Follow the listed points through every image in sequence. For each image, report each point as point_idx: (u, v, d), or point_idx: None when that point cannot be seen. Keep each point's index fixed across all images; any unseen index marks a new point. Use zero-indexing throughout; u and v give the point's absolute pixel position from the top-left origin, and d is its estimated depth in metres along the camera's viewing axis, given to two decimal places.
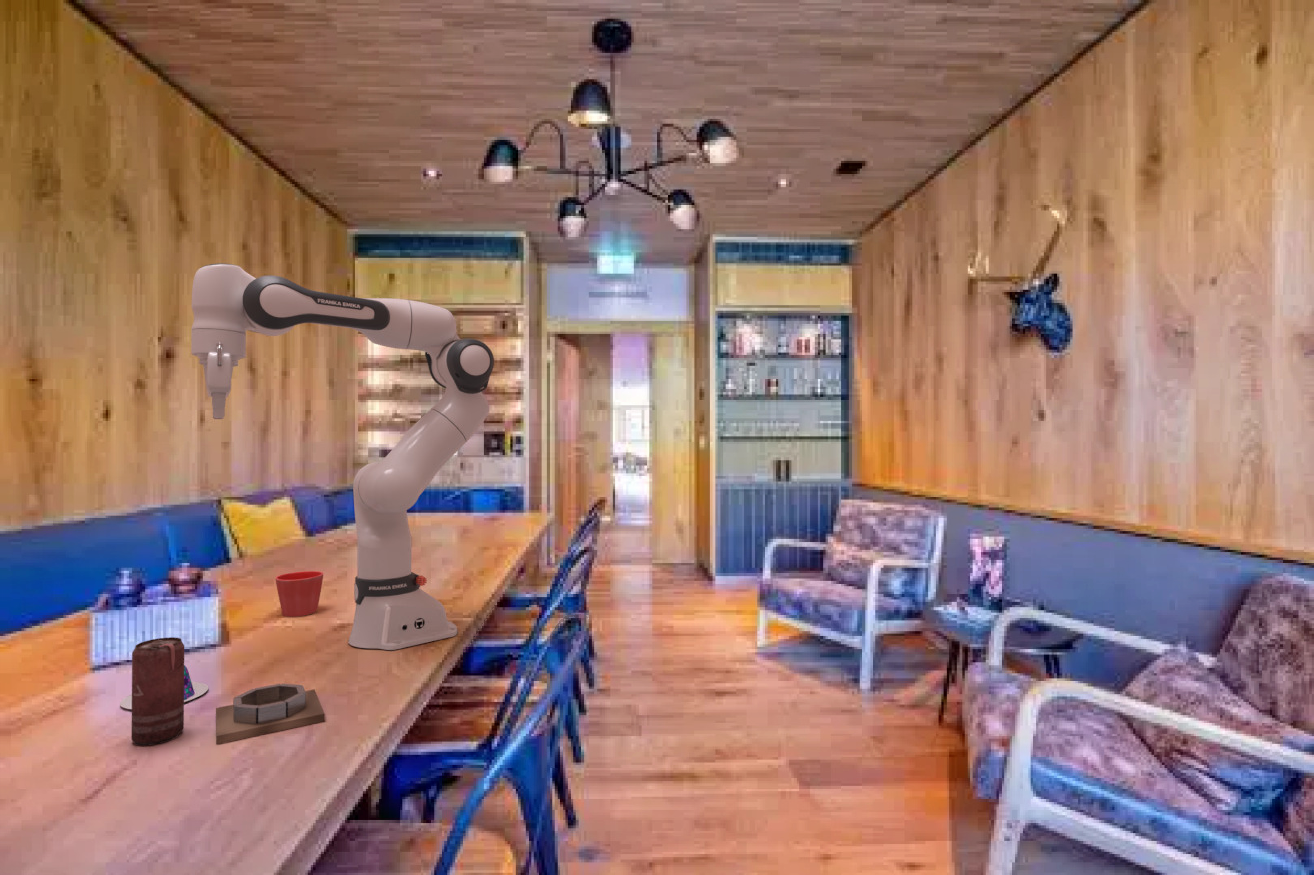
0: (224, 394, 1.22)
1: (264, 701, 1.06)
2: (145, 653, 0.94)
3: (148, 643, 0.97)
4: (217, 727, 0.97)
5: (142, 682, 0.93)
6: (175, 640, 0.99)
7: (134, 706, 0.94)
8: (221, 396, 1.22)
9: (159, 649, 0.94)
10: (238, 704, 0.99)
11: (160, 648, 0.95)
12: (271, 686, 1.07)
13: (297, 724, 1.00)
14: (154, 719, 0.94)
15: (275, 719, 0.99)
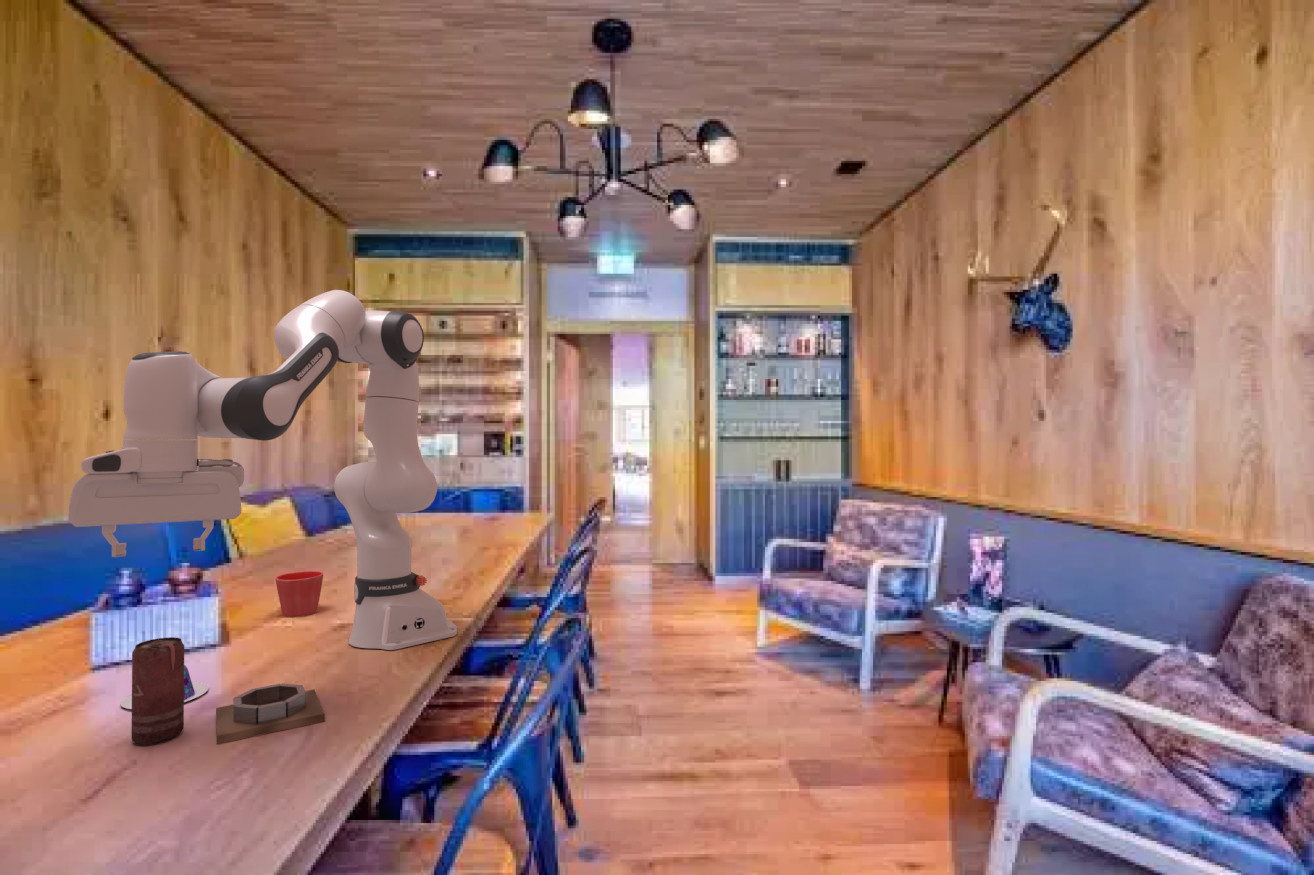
0: None
1: (264, 701, 1.06)
2: (145, 653, 0.94)
3: (148, 643, 0.97)
4: (217, 727, 0.97)
5: (142, 682, 0.93)
6: (175, 640, 0.99)
7: (134, 706, 0.94)
8: None
9: (159, 649, 0.94)
10: (238, 704, 0.99)
11: (160, 648, 0.95)
12: (271, 686, 1.07)
13: (297, 724, 1.00)
14: (154, 719, 0.94)
15: (275, 719, 0.99)
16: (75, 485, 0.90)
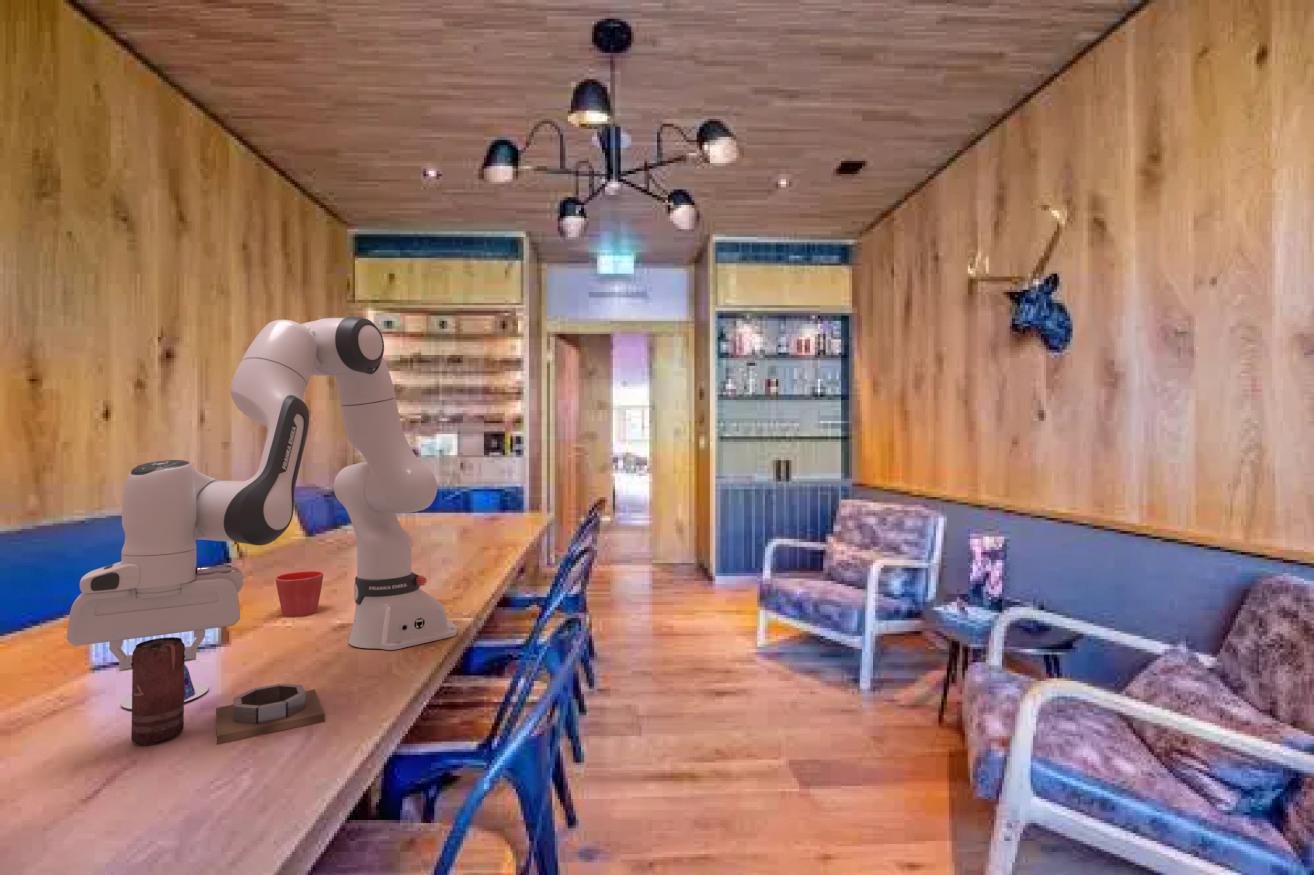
0: None
1: (264, 701, 1.06)
2: (145, 653, 0.94)
3: (148, 643, 0.97)
4: (217, 727, 0.97)
5: (143, 682, 0.94)
6: (175, 640, 0.99)
7: (134, 706, 0.94)
8: None
9: (159, 649, 0.94)
10: (238, 704, 0.99)
11: (160, 648, 0.95)
12: (271, 686, 1.07)
13: (297, 724, 1.00)
14: (155, 719, 0.94)
15: (275, 719, 0.99)
16: (73, 605, 0.89)
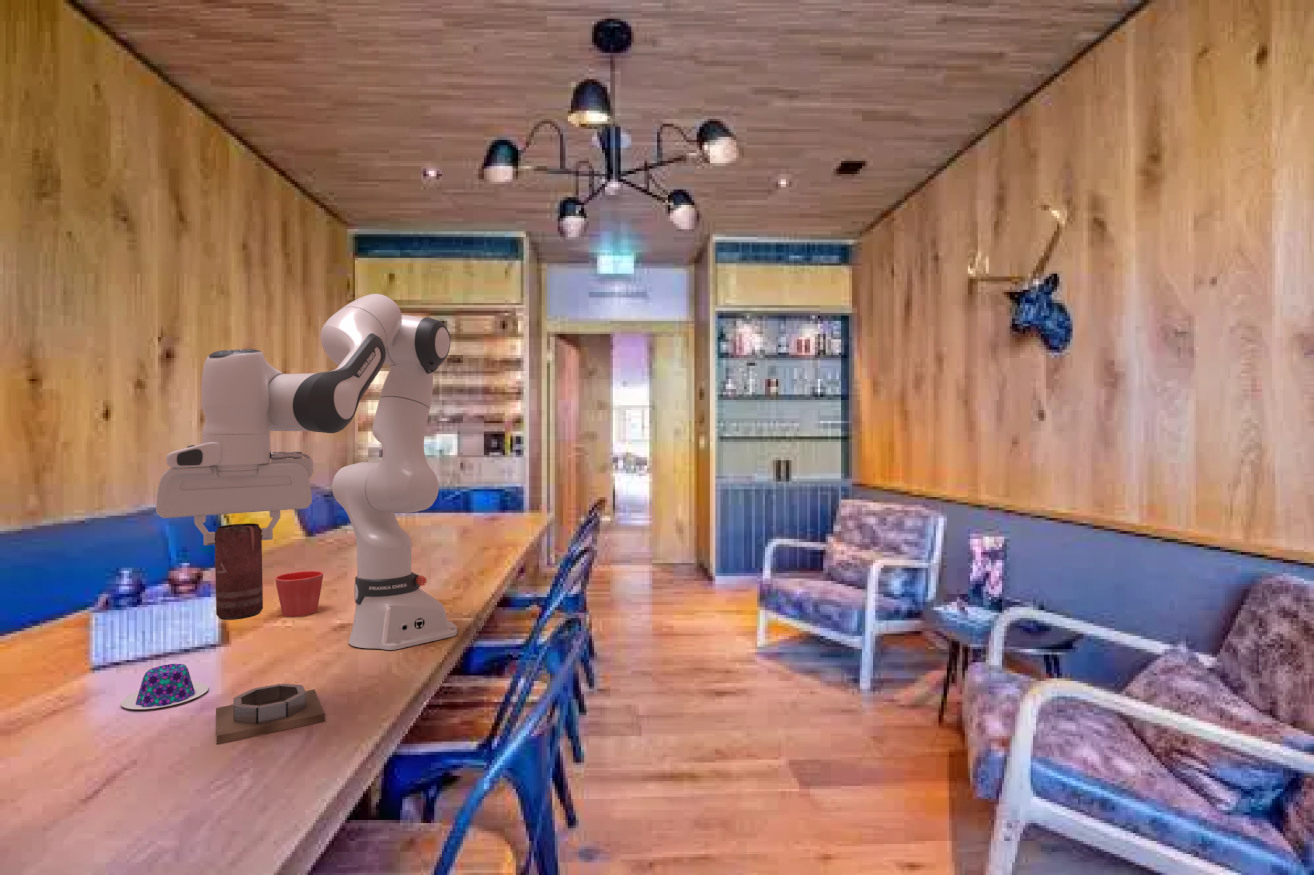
0: None
1: (264, 701, 1.06)
2: (227, 533, 0.99)
3: (228, 527, 1.02)
4: (217, 727, 0.97)
5: (226, 560, 0.99)
6: (252, 525, 1.04)
7: (218, 583, 0.99)
8: None
9: (240, 529, 0.99)
10: (238, 704, 0.99)
11: (241, 529, 1.00)
12: (271, 686, 1.07)
13: (297, 724, 1.00)
14: (238, 595, 0.99)
15: (275, 719, 0.99)
16: (162, 478, 0.94)
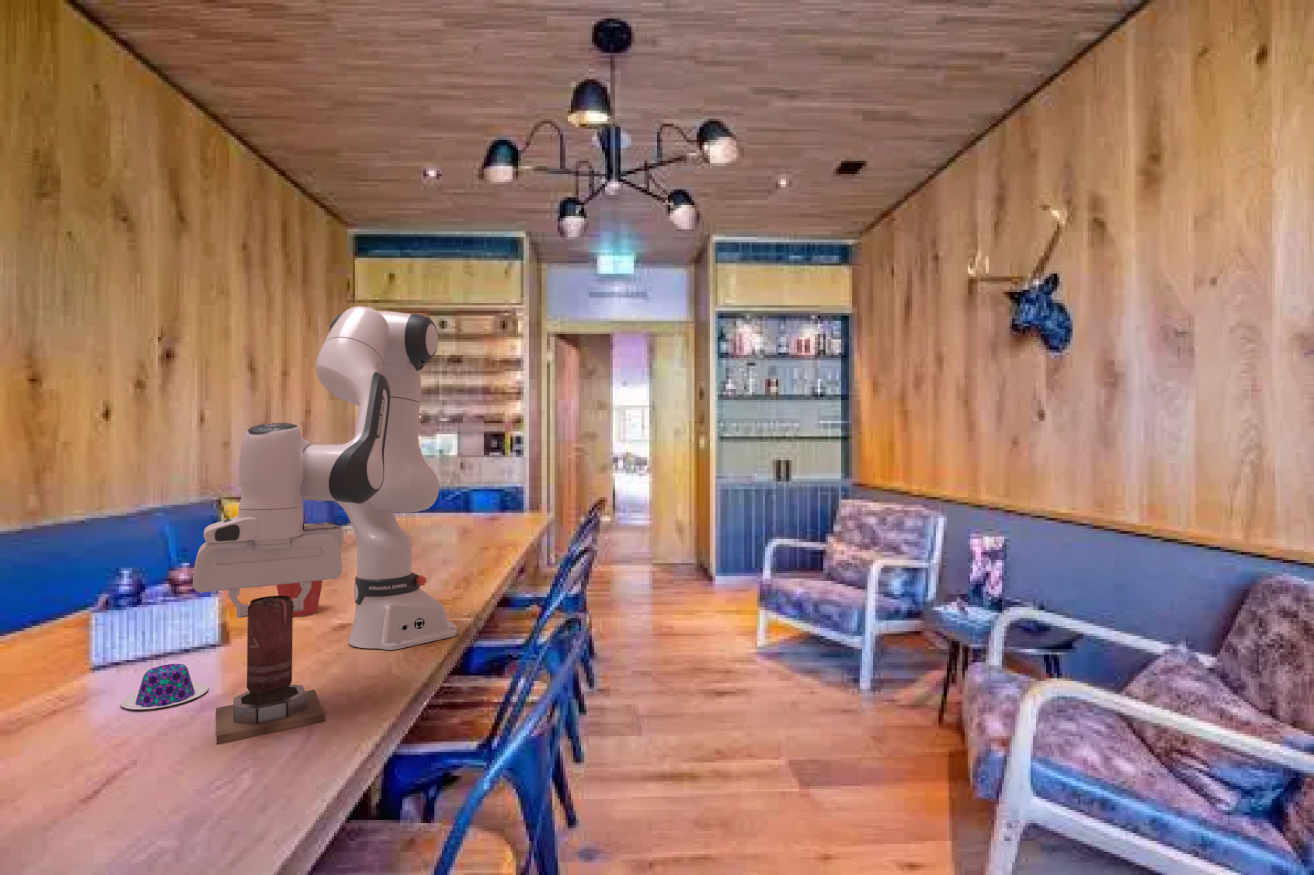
0: None
1: (264, 701, 1.06)
2: (261, 608, 1.00)
3: (260, 600, 1.04)
4: (217, 727, 0.97)
5: (259, 635, 1.00)
6: (284, 598, 1.05)
7: (250, 657, 1.00)
8: None
9: (273, 604, 1.01)
10: (238, 704, 0.99)
11: (274, 603, 1.01)
12: None
13: (297, 724, 1.00)
14: (269, 670, 1.00)
15: (275, 719, 0.99)
16: (199, 554, 0.96)
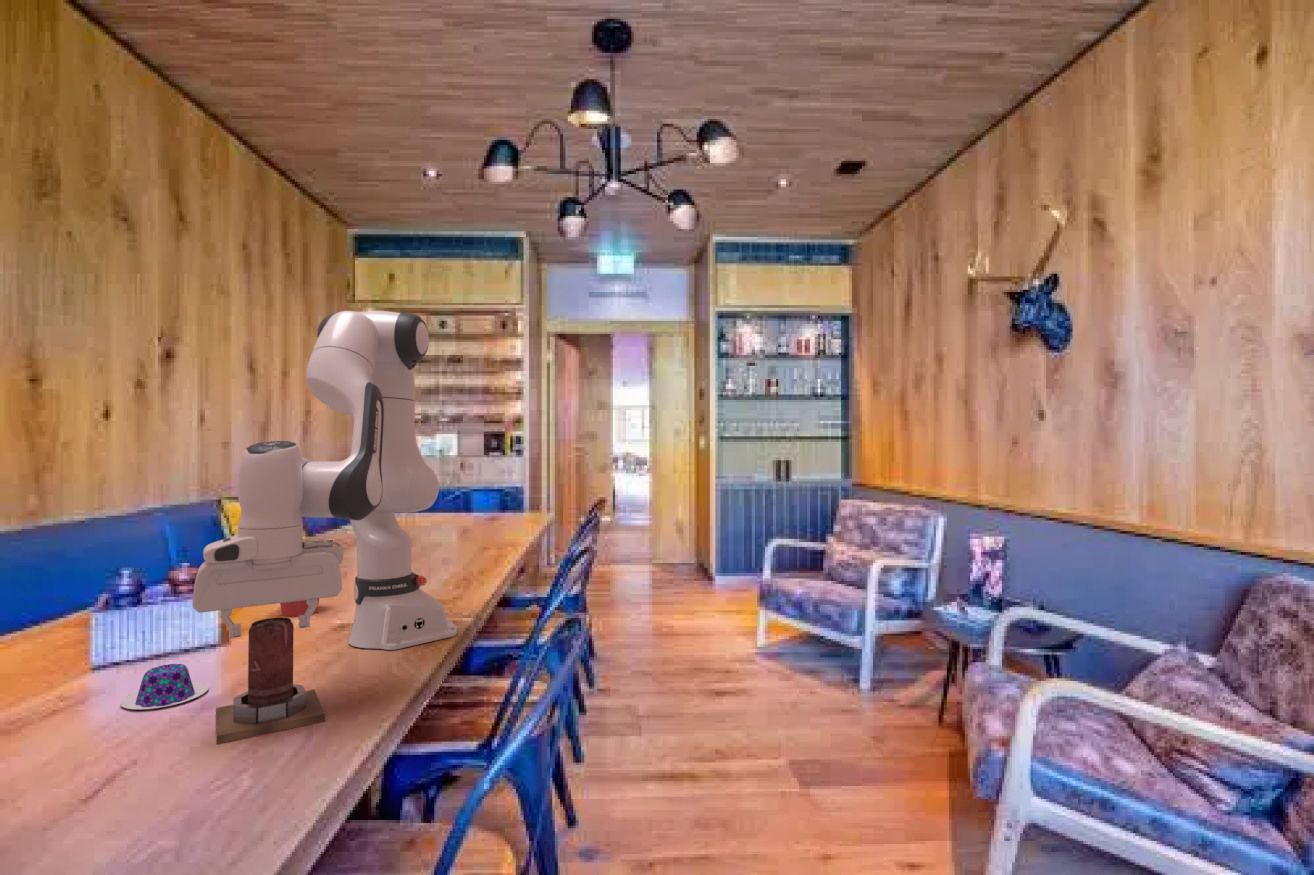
0: None
1: None
2: (262, 631, 1.01)
3: (261, 622, 1.04)
4: (217, 727, 0.97)
5: (260, 658, 1.00)
6: (284, 620, 1.06)
7: (251, 680, 1.01)
8: None
9: (274, 627, 1.01)
10: (238, 704, 0.99)
11: (275, 626, 1.01)
12: None
13: (297, 724, 1.00)
14: (270, 693, 1.01)
15: (275, 719, 0.99)
16: (199, 574, 0.96)
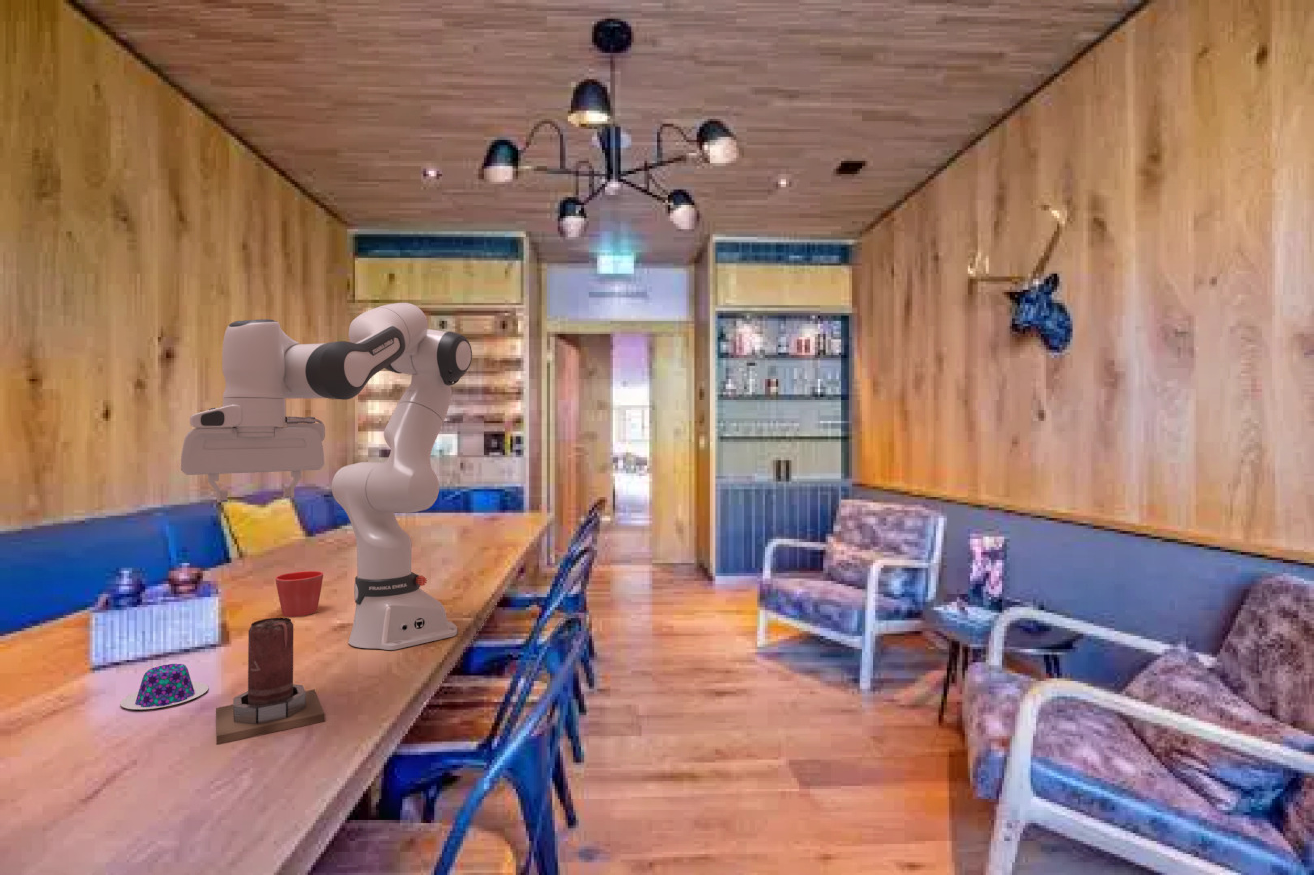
0: None
1: None
2: (262, 631, 1.01)
3: (261, 622, 1.04)
4: (217, 727, 0.97)
5: (260, 658, 1.00)
6: (284, 620, 1.06)
7: (251, 680, 1.01)
8: None
9: (274, 627, 1.01)
10: (238, 704, 0.99)
11: (275, 627, 1.01)
12: None
13: (297, 724, 1.00)
14: (270, 693, 1.01)
15: (275, 719, 0.99)
16: (186, 438, 1.01)
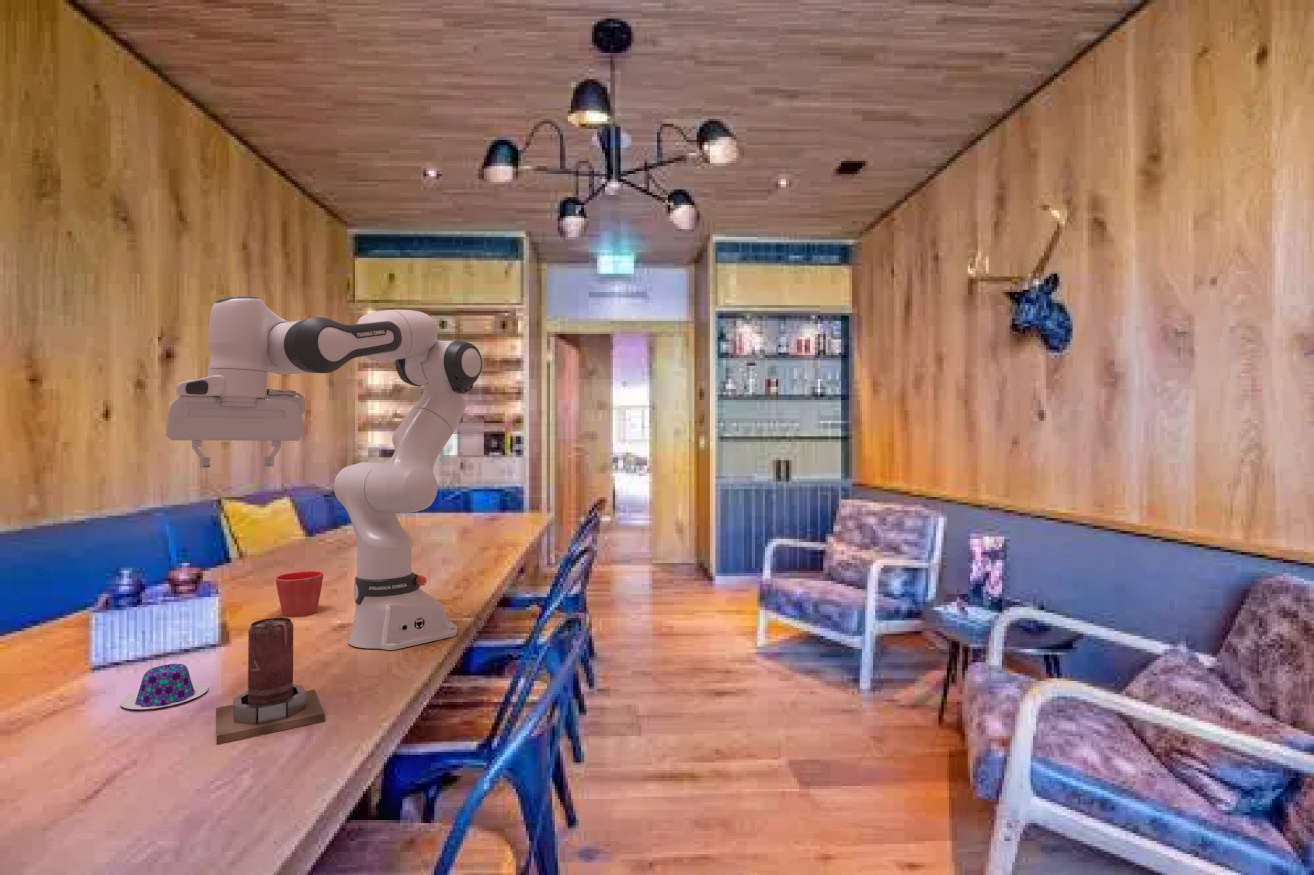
0: None
1: None
2: (262, 631, 1.01)
3: (261, 622, 1.04)
4: (217, 727, 0.97)
5: (259, 658, 1.00)
6: (284, 620, 1.06)
7: (251, 680, 1.01)
8: None
9: (274, 627, 1.01)
10: (238, 704, 0.99)
11: (275, 627, 1.01)
12: None
13: (297, 724, 1.00)
14: (270, 693, 1.01)
15: (275, 719, 0.99)
16: (172, 405, 1.08)
